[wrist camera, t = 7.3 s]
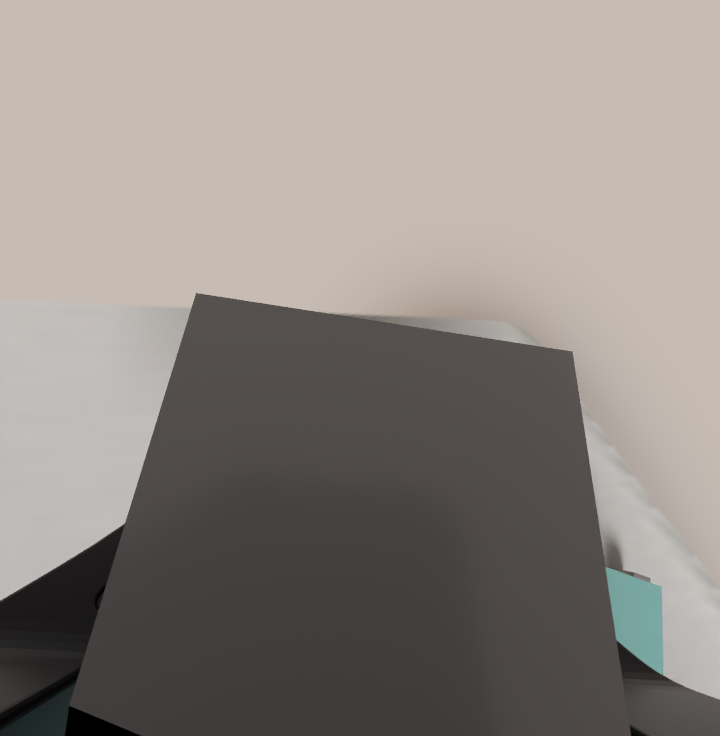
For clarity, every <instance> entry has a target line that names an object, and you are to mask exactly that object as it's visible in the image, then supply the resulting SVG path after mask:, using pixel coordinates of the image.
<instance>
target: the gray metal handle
mask: <svg viewBox="0 0 720 736" xmlns="http://www.w3.org/2000/svg"><path fill="white" fill-rule="evenodd" d="M65 736H631V732H630V725H629V719H628V712H627V706H626V699H625V693H624V686H623V680H622V673H621V666H620V660H619V653H618V647H617V640H616V634H615V627H614V621H613V614H612V608H611V601H610V595H609V588H608V582H607V575H606V568H605V562H604V555H603V549H602V542H601V536H600V529H599V523H598V516H597V510H596V503H595V497H594V490H593V484H592V477H591V470H590V464H589V457H588V451H587V444H586V438H585V431H584V425H583V418H582V412H581V405H580V399H579V392H578V386H577V379H576V373H575V366H574V359H573V353H572V352H571V351H565V350H558V349H552V348H545V347H539V346H533V345H526V344H520V343H513V342H507V341H500V340H494V339H487V338H481V337H475V336H468V335H462V334H455V333H449V332H442V331H436V330H430V329H423V328H417V327H410V326H404V325H397V324H391V323H384V322H378V321H372V320H365V319H359V318H352V317H346V316H339V315H333V314H327V313H320V312H314V311H307V310H301V309H294V308H288V307H281V306H275V305H268V304H262V303H255V302H248V301H243V300H236V299H230V298H223V297H217V296H211V295H204V294H198V293H196V296H195V299H194V302H193V305H192V309H191V312H190V315H189V318H188V322H187V325H186V328H185V331H184V335H183V338H182V341H181V344H180V348H179V351H178V354H177V357H176V360H175V364H174V367H173V370H172V373H171V377H170V380H169V383H168V386H167V390H166V393H165V396H164V399H163V403H162V406H161V409H160V412H159V416H158V419H157V422H156V425H155V429H154V432H153V435H152V438H151V442H150V445H149V448H148V451H147V455H146V458H145V461H144V464H143V468H142V471H141V474H140V477H139V481H138V484H137V487H136V490H135V494H134V497H133V500H132V503H131V506H130V510H129V513H128V516H127V519H126V523H125V526H124V529H123V532H122V536H121V539H120V542H119V545H118V549H117V552H116V555H115V558H114V562H113V565H112V568H111V571H110V575H109V578H108V581H107V584H106V588H105V591H104V594H103V597H102V601H101V604H100V607H99V610H98V614H97V617H96V620H95V623H94V627H93V630H92V633H91V636H90V640H89V643H88V646H87V649H86V652H85V656H84V659H83V662H82V665H81V669H80V672H79V675H78V678H77V682H76V685H75V688H74V691H73V695H72V698H71V701H70V704H69V710H68V717H67V724H66V732H65Z"/></svg>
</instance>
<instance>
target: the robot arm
mask: <svg viewBox="0 0 720 736" xmlns="http://www.w3.org/2000/svg"><path fill="white" fill-rule="evenodd" d="M124 526H125V524H123V525H122V526H121V527H119V528H118V529H116V530H115V531H113V532H112V533H110V534H109V535H107V536H106V537H104V538H103V539H101V540H100V541H98V542H97V543H95V544H94V545H92V546H91V547H89V548H88V549H86V550H84V551H83V552H81V553H79V554H78V555H76V556H75V557H73V558H71V559H70V560H68V561H66V562H65V563H63V564H62V565H60V566H58V567H57V568H55V569H53V570H52V571H50V572H48V573H46V574H45V575H43V576H41V577H40V578H38V579H36V580H35V581H33V582H31V583H30V584H28V585H26V586H25V587H23V588H21V589H20V590H18V591H16V592H14V593H13V594H11V595H9V596H8V597H6V598H4V599H3V600H1V601H0V736H65V732H66V724H67V717H68V710H69V704H70V701H71V698H72V695H73V691H74V688H75V685H76V682H77V678H78V675H79V672H80V669H81V665H82V662H83V659H84V656H85V652H86V649H87V646H88V643H89V640H90V636H91V633H92V630H93V627H94V623H95V620H96V617H97V614H98V610H99V607H100V604H101V601H102V597H103V594H104V591H105V588H106V584H107V581H108V578H109V575H110V571H111V568H112V565H113V562H114V558H115V555H116V552H117V549H118V545H119V542H120V539H121V536H122V532H123V529H124ZM617 647H618V653H619V660H620V666H621V673H622V680H623V686H624V693H625V699H626V706H627V712H628V719H629V725H630V732H631V736H720V700H719V699H716V698H713V697H710V696H708V695H705V694H702V693H699V692H696V691H694V690H691V689H689V688H686V687H684V686H682V685H680V684H678V683H676V682H674V681H672V680H670V679H668V678H667V677H665V676H663V675H662V674H660V673H658V672H657V671H655V670H654V669H652V668H651V667H649V666H648V665H646V664H645V663H644V662H643V661H641V660H640V659H639V658H638V657H636V656H635V655H634V654H633V653H631V652H630V651H629V650H628V649H627V648H625V647H624V646H623V645H622V644H621V643H619V642H618V641H617Z"/></svg>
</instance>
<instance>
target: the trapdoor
mask: <svg viewBox="0 0 720 736" xmlns="http://www.w3.org/2000/svg"><path fill="white" fill-rule="evenodd" d="M605 568H606V575H607V582H608V588H609V595H610V601H611V608H612V614H613V621H614V627H615V634H616V640H617V641H618V642H619V643H621V644H622V645H623V646H624V647H625V648H627V649H628V650H629V651H630V652H631V653H633V654H634V655H635V656H636V657H638V658H639V659H640V660H641V661H643V662H644V663H645V664H646V665H648V666H649V667H651V668H652V669H654V670H655V671H657V672H658V673H660V674H662V675H663V643H662V592H661V586H658V585H655V584H652V583H650V582H647V581H644V580H641V579H638V578H635V577H633V576H630V575H627V574H624V573H621V572H619V571H616V570H613V569H610V568H607V567H605Z"/></svg>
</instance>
